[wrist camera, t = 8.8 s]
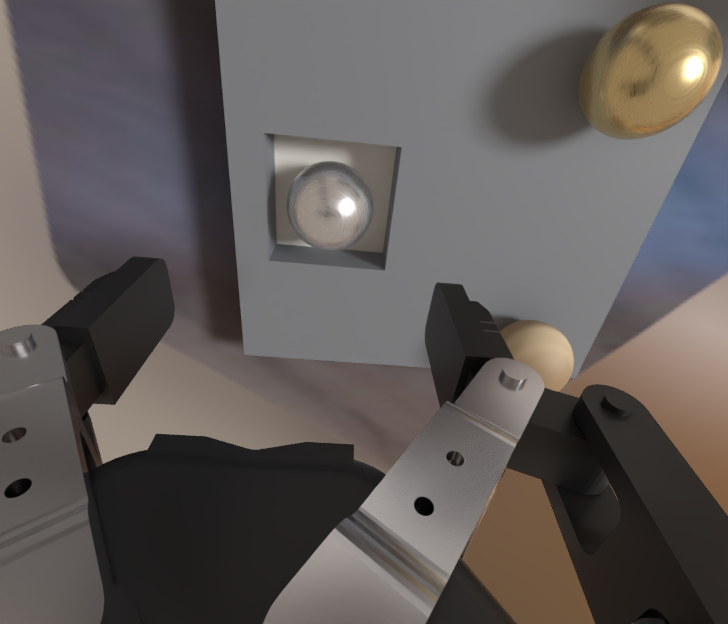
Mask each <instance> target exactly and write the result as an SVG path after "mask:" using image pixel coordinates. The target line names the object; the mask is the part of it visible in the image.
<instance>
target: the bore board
mask: <svg viewBox="0 0 728 624" xmlns="http://www.w3.org/2000/svg"><path fill="white" fill-rule="evenodd" d="M663 3H682V4H687V5H692V6H694V7H696V8H698V9H700V10H702V11H703V12H705V13H706V14H708V15H709V17H710V18H711V19H712V20H713V21H714V22H715V24H716V26H717V27H718V29H719V32H720V35H721V39H722V45H723V56H722V63H721V68H720V71H719V74H718V76H717V79H716V81H715V83H714V85H713V87H712V89H711V90H710V92H709V93H708V95H707V96H706V98H705V99H704V100H703V101H702V103H701V104H700V105H699V106H698V107H697V108H696V109H695V110H694V111H693V112H692V113H691V114H690V115H689V116H688V117H686V118H685V119H684V120H682V121H681V122H680V123H678V124H676V125H675V126H673V127H672V128H670V129H668V130H666V131H664V132H662V133H659V134H656V135H654V136H650V137H646V138H642V139H633V140H622V139H616V138H611V137H609V136H606V135H604V134H602V133H600V132H598V131H597V130H596V129H594V128H593V127H592V126H591V125H590V124H589V123H588V122H587V120H586V119H585V117H584V115H583V113H582V111H581V108H580V104H579V98H578V86H579V80H580V76H581V72H582V69H583V66H584V64H585V62H586V60H587V58H588V56H589V54H590V52H591V51H592V49H593V47H594V46H595V45H596V44H597V42H598V41H599V40H600V39H601V38H602V37H603V35H604V34H605V33H606V32H607V31H608V30H609V29H611V28H612V27H613V26H614V25H615V24H617V23H618V22H619V21H621V20H622V19H624V18H625V17H627V16H629V15H630V14H632V13H634V12H636V11H638V10H641V9H643V8H646V7H649V6H653V5H656V4H663ZM215 7H216V19H217V31H218V43H219V55H220V67H221V79H222V91H223V104H224V116H225V128H226V140H227V152H228V164H229V176H230V188H231V200H232V212H233V225H234V237H235V249H236V261H237V273H238V285H239V297H240V309H241V321H242V333H243V345H244V355H255V356H269V357H283V358H298V359H312V360H326V361H340V362H354V363H368V364H382V365H396V366H411V367H425V368H431V367H430V362H429V358H428V354H427V350H426V346H425V327H426V322H427V317H428V313H429V308H430V304H431V300H432V295H433V291H434V287H435V285H436V283H437V282H440V283H452V284H462V285H463V287H464V289H465V291H466V294H467V296H468V298H469V300H470V301H478V302H479V303H480V304H481V305H482V306H483V307H485V308H486V309H487V310H488V311H489V312H490V314H491V316H492V318H493V320H494V322H495V324H496V325H497V327H498V329H499V332H500V331H501V330H502V329H503V328H505V327H506V326H508V325H510V324H512V323H514V322H518V321H522V320H536V321H541V322H545V323H547V324H549V325H551V326H553V327H555V328H556V329H557V330H559V331H560V332H561V333H562V334H563V335H564V336H565V338H566V339H567V340H568V342H569V344H570V346H571V348H572V351H573V357H574V366H573V371H572V374H571V377H570V378H576V376H577V374H578V372H579V370H580V368H581V366H582V364H583V362H584V360H585V358H586V356H587V354H588V352H589V350H590V348H591V346H592V344H593V342H594V340H595V338H596V336H597V334H598V332H599V330H600V328H601V326H602V324H603V322H604V320H605V318H606V316H607V314H608V312H609V310H610V308H611V306H612V304H613V302H614V300H615V298H616V296H617V294H618V292H619V290H620V288H621V286H622V284H623V282H624V280H625V278H626V276H627V274H628V272H629V270H630V268H631V266H632V264H633V262H634V260H635V258H636V256H637V254H638V252H639V250H640V248H641V246H642V244H643V242H644V240H645V238H646V236H647V234H648V232H649V230H650V228H651V226H652V224H653V222H654V220H655V218H656V216H657V214H658V212H659V210H660V208H661V206H662V204H663V202H664V200H665V198H666V196H667V194H668V192H669V190H670V188H671V186H672V184H673V182H674V180H675V178H676V176H677V174H678V172H679V170H680V168H681V166H682V164H683V162H684V160H685V158H686V156H687V154H688V152H689V150H690V148H691V146H692V144H693V142H694V140H695V138H696V136H697V134H698V132H699V130H700V128H701V126H702V124H703V122H704V120H705V118H706V116H707V114H708V112H709V110H710V108H711V106H712V104H713V102H714V100H715V98H716V96H717V94H718V92H719V90H720V88H721V86H722V84H723V82H724V80H725V78H726V76H727V74H728V0H215ZM322 161H336V162H340V163H344V164H346V165H348V166H350V167H352V168H353V169H355V170H356V171H357V172H359V173H360V174H361V176H362V177H363V178H364V179H365V181H366V182H367V184H368V186H369V188H370V190H371V193H372V197H373V203H374V211H373V217H372V221H371V224H370V226H369V228H368V230H367V231H366V233H365V234H364V236H363V237H362V238H361V239H360V240H359V241H358V242H356V243H355V244H353V245H352V246H350V247H348V248H345V249H342V250H338V251H325V250H320V249H317V248H314V247H312V246H310V245H308V244H307V243H305V242H304V241H303V240H302V239H301V238H300V237H299V236H298V235H297V234H296V233H295V231H294V229H293V228H292V226H291V224H290V222H289V219H288V215H287V206H286V203H287V195H288V192H289V189H290V186H291V184H292V182H293V180H294V179H295V178H296V176H297V175H298V174H299V173H300V172H301V171H302V170H304V169H305V168H306V167H308V166H310V165H312V164H315V163H318V162H322Z"/></svg>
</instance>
